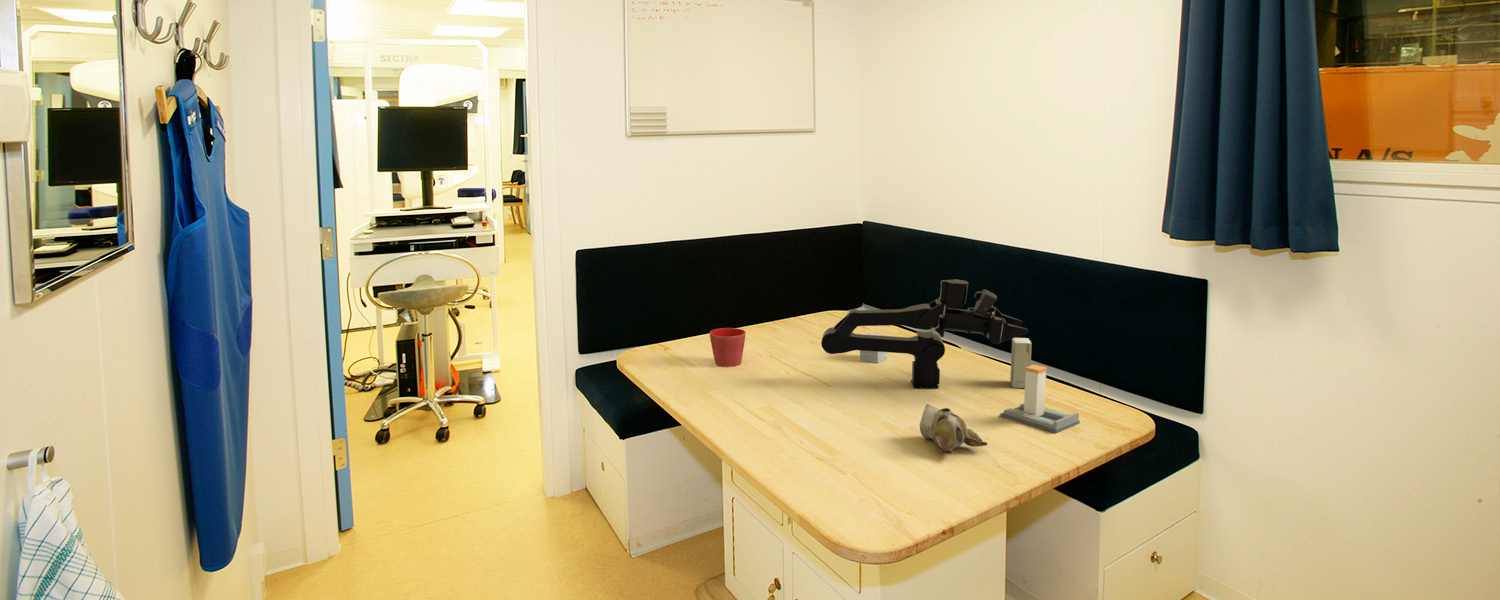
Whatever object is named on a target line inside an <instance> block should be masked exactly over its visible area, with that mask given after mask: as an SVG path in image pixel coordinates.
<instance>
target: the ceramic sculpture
mask: <svg viewBox="0 0 1500 600" xmlns="http://www.w3.org/2000/svg"><path fill="white" fill-rule="evenodd" d="M919 432H920V434H921V436H922V437H923V438H924V439H927V440H928V439H929V440H933V442H934V445H935V447H936V448H937V449H938V450H939V452H941V453H943V454H944V453H945V454H951V455H952V454H953V451H954V450H955V449H956V448H959V447H960V446H962V445H963V444H966V445H967V446H969V447H974V448H976V447H985V446H987V445H988V442H986V441H983V439H982V438H980V436H979V435H978V433H976V432H975V431H974V430H973V429H972V428H971V429H970V428H968V427H967V424H966V423H965V420H964V419H963V418H962V417H960V416H959V415H957V414H954V413H953V411H952V410H951V409H950V408H947V407H945V408H941V409H939V408H938V407H935V406H932V405H930V404H928V403H927V404H926V405H925V407H924V410H923V412H922V415H921V419H920V423H919Z"/></svg>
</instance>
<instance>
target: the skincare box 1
mask: <svg viewBox="0 0 1500 600" xmlns="http://www.w3.org/2000/svg"><path fill="white" fill-rule="evenodd" d="M865 335H877V336H887V335H886V334H878V333H872V332H869V333H866V334H865ZM887 354H888V352H876V351H861V350H859V361H861V362H865V363H873V364H880V363H881V362H883V361H885V360H886V359H887V358H888V357H887V356H888V355H887Z"/></svg>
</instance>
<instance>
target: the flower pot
mask: <svg viewBox="0 0 1500 600" xmlns="http://www.w3.org/2000/svg"><path fill="white" fill-rule="evenodd" d="M746 334H747V332H746V330H744V329H742V328H737V327H736V328H735V327H723V328H722V327H721V328H715V329H712V330H710V331H709V337H710V339H709V340H710V343H711V350H712V355H713V360H714V364H715V365H716V366H718V367H723V368H724V367H725V368H733V367H737V366H740V365H741V363H742V360H743V354H744V348H745V342H746Z"/></svg>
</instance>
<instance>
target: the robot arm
mask: <svg viewBox="0 0 1500 600" xmlns="http://www.w3.org/2000/svg"><path fill="white" fill-rule="evenodd" d="M968 287H969V282H968V281H967V280H963V279H962V280H961V279H955V278H954V279H946V280H945V279H942V280H941V281H940V293H939V294H940V295H939V297H938V298H936V299H935V300H933V301H931V302H929V303H922V304H921V303H919V304H915V305H911V306H908V307H904V308H900V309H899V308H898V309H896V308H895V309H893V308H892V309H866V310H865V309H863V310H862V309H860V310H858V309H851V310H849V311H848V312H847V314H846V315H845V316H844V317H843V318H842V319H841V320H839V321H838V322H837V324H836V325H834V326H833V327H832V326H831V327H829V328H826V330H825V331H824V332H823V335H822V337H821V344H820V345H821V347H822V349H823V351H824V352H825V353H827V354H829V355H837V354H846V353H849V352H853V351H860V350H861V351H876V352H887V353H893V354H907V355H911V356H913V359H914V360H912V363H911V365H912V366H911V379H910V384H911V386H912V387H913V389H939V387H940V386H939V385H940V380H941V379H940V377H941V369H940V368H939V363H938V361H940V360H941V359H942V358H943V357H944V356H945V354H946V353H945V352H946V347H945V344H944V342H943V339H942V338H944V337H945V331H946V330H947V331H954V332H955V331H956V332H964V333H966V334H967V335H972V334H973V333H974V334H982V336H984V337H987V339H988V341H989V342H990V343H991V344H993V345H999V344H1002V343H1003V342H1006V341H1009V340H1012V338H1020V337H1022V336H1025V335H1028V334H1029V329H1028V328H1026V327H1022V325H1023V321H1022V320H1021V319H1018V318H1015V317H1011V316H1009V315H1006V314H1003V313H1001V311H1000V310H999V309H998V308H997V307H996V306H994V304H995V303H996V301H997V299H998V296H997V294H995V293H994V292H991V291H989V290H987V289H982V291H980V290H979V291H976V292H975V293H974V298H975V300H976V302H975V306H974V307H968V308H967V309H960V308H962V307H963V305H966V303H967V302H966V301H967V296H968ZM993 310H994V311H993ZM937 323H938V325H937ZM936 325H937V326H936ZM877 326H878V327H881V326H884V327H885V326H905V327H908V328H912V329H918V330H917V331H916V335H914V336H908V337H907V336H906V337H905V336H904V337H903V336H889V335H886V336H877V335H866V334H861V333H860V334H858V333H854V331H855V329H857V328H858V327H877ZM933 328H934V330H935V331H934V332H937V333H938V334H936V333H933V331H928V330H932V329H933ZM922 330H924V331H922ZM925 331H926V332H925Z"/></svg>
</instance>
